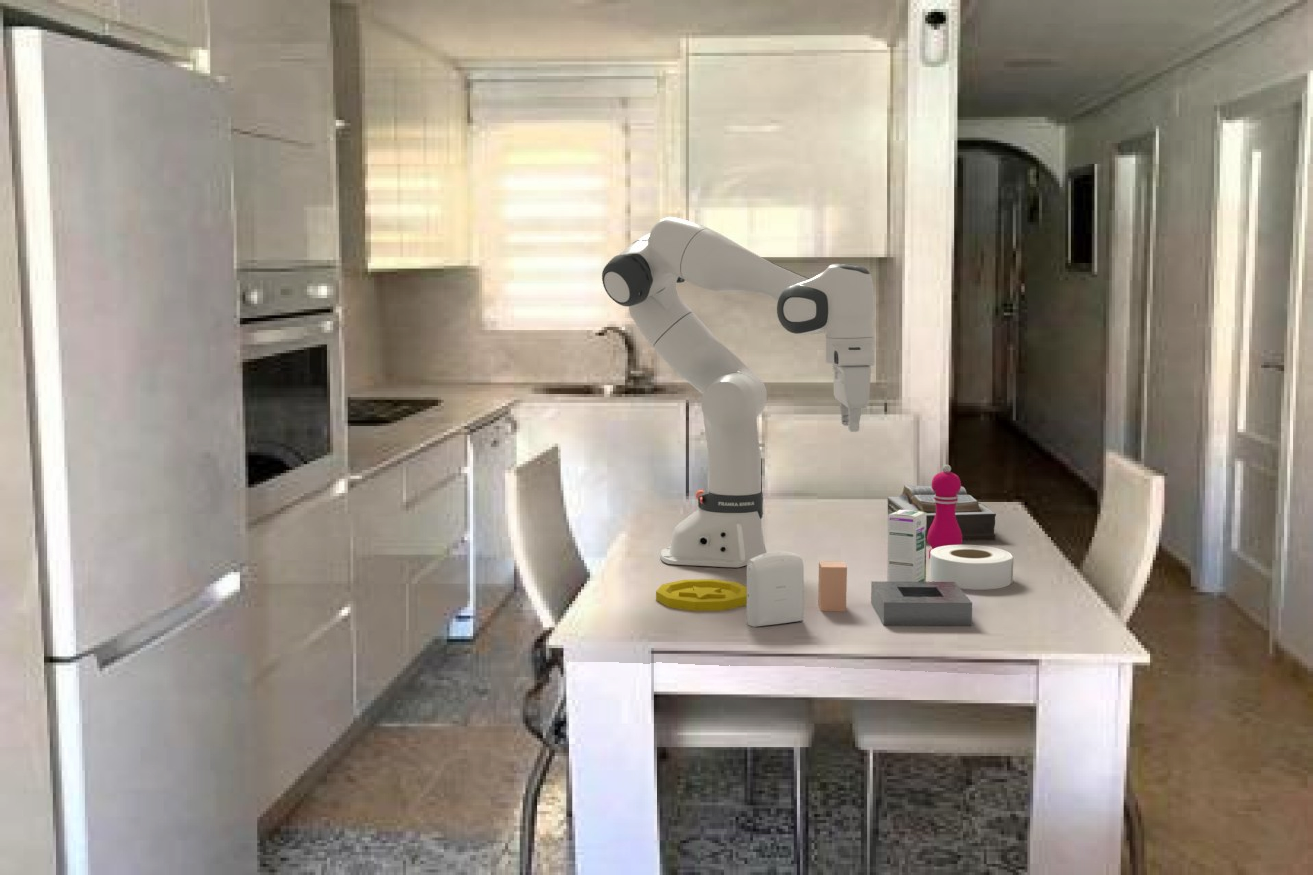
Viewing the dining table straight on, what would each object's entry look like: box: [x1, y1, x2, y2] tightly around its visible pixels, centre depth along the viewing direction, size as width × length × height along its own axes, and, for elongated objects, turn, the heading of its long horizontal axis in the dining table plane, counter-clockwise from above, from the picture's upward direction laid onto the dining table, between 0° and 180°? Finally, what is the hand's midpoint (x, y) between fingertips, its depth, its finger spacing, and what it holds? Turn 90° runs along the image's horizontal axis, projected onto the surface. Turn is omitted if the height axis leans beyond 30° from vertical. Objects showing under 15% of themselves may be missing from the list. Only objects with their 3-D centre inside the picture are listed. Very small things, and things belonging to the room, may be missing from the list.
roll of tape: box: [929, 544, 1015, 590], centre depth 259 cm, size 16×16×6 cm
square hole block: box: [870, 580, 973, 627], centre depth 234 cm, size 15×15×4 cm
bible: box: [886, 484, 997, 542], centre depth 307 cm, size 23×27×10 cm
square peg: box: [817, 561, 848, 612], centre depth 238 cm, size 4×4×8 cm
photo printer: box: [746, 551, 805, 628], centre depth 228 cm, size 10×4×12 cm, turn 112°
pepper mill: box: [926, 464, 963, 560], centre depth 276 cm, size 7×7×20 cm
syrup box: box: [886, 510, 927, 582], centre depth 253 cm, size 6×6×14 cm
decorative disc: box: [655, 578, 747, 612], centre depth 245 cm, size 17×18×2 cm
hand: (850, 428), depth 244 cm, fingers open, 8 cm apart
